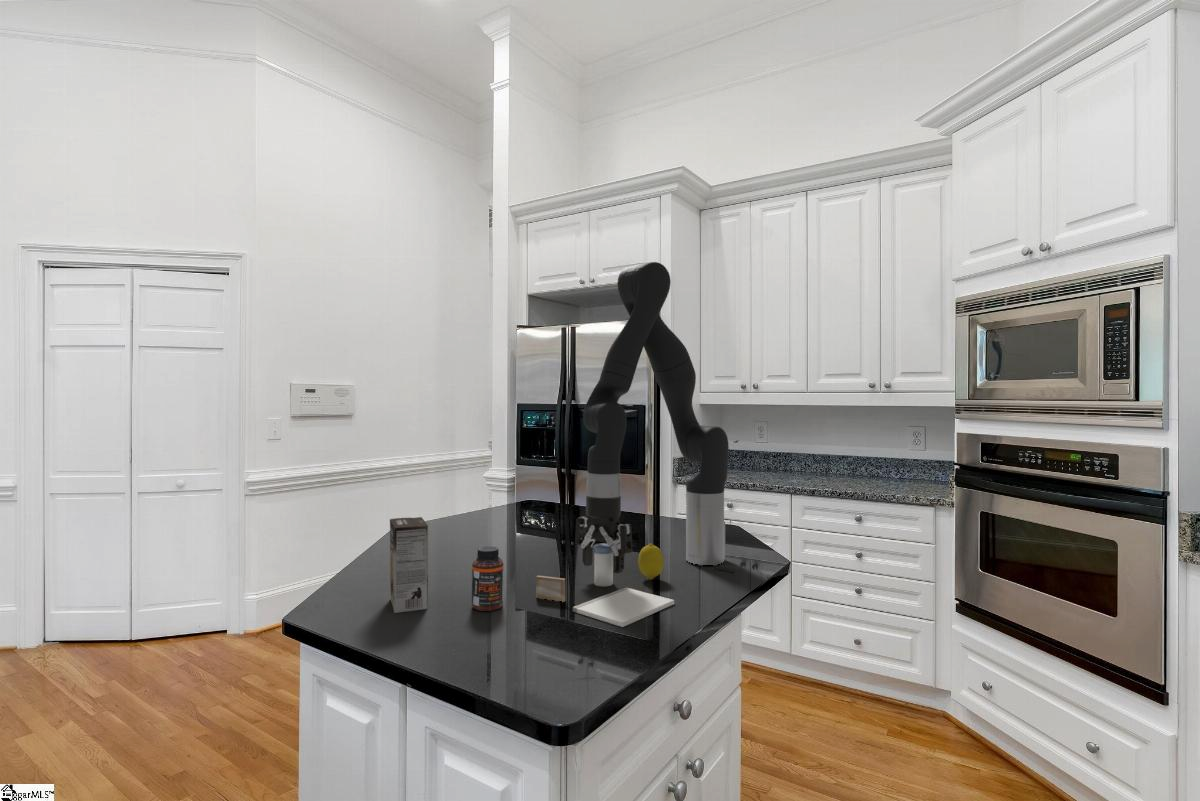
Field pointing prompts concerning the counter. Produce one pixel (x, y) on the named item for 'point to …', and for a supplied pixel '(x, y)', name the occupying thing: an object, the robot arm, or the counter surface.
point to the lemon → (650, 561)
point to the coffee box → (409, 564)
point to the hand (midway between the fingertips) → (602, 568)
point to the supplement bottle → (487, 580)
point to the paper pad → (623, 606)
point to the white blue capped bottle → (603, 565)
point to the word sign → (550, 588)
